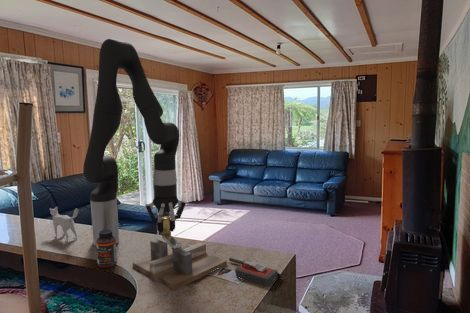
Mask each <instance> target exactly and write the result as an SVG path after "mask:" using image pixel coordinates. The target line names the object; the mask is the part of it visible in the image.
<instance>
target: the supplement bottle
mask: <svg viewBox="0 0 470 313" xmlns="http://www.w3.org/2000/svg"><path fill="white" fill-rule="evenodd" d="M99 236H100V237H99V238H98V239H97V241H96V245H97V246H96V256H97V257H96V261H97V263H96V264H97V266H98V267H99V268H105V269H107V268H111V267H113V266H115V265H116V264H117V244H116V239H115V237H114V236H112V230H102V231H100V232H99Z"/></svg>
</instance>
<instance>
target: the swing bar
mask: <svg viewBox="0 0 470 313" xmlns="http://www.w3.org/2000/svg"><path fill="white" fill-rule="evenodd" d="M161 222H162V233H161V239H162V240H163V241H164V242H165V243H167V245H168V246H170V248H172V249H173V250H176V249H178V248H180V249H181V248H182V244H183V243H181V242H179V241H178V240H177V239H176V238H174V237H173V236H172V232H171V218H170V216H162V219H161Z"/></svg>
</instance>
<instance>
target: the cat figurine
mask: <svg viewBox="0 0 470 313" xmlns="http://www.w3.org/2000/svg"><path fill="white" fill-rule="evenodd" d="M58 209H59V206H58V205H57V206H55V207H54V208H51V207H50V208H49V211H50V212H49V213H50V215H51V216H52V225H53V230H54V233H55V236H54V238H58V227H61V230H62V232H63V233H62V235H63V236H65V237H66V240H64V242H65V243H69V234H68V230H71V232H72V233H73V235H74V237H73V239H74V240H77V237H78V236H77V232H76V228H75V221H74V219H75V218H76V217H77V216H78V214H79V212H80V210H79V209H78V208H77V207H76V208H75V209H74V210H73V214H72V216H69V215H67V214H65V215H64V214H59V210H58Z"/></svg>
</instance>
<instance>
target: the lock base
mask: <svg viewBox="0 0 470 313" xmlns="http://www.w3.org/2000/svg"><path fill="white" fill-rule="evenodd" d="M149 242H150V243H149V244H150V245H149V246H150V255H149V256H147V257H143V258H141V259H138V260H135V261H133V262H132V268H134V269H136V270H137V271H139V272H141V273H143V274H145V275H147V276H148V277H150V278H152V279H154V280H156V281H158V282H159V283H161V284H163V285H165V287H166V286H167V287H168V288H170V289H172V290H174V291H176V290H179V289H180V288H182V287H185V286H187V285H189V284H190V283H192V282H195V281H197V280H199V279H201V278H203V277H205V276H207V275H209V274H211V273H212V272H211V271H213V270H215V269H217V268H220V269H222V268H223V267H225V266H226V267H227V265H228V264H227V262H228V261H227V259H225V258H224V259H223V258H221V257H219V256H216V255H213V254H211V253H209V252H207V244H206V243H204V242H199V243H196V244H193V245H191V246H190V245H188V244H185V243H181V244H182V248H181V249H180V248H178V249H176V250H173V249H172V247H170V248H168V243H167V242H166V241H164V240H163V241H162V240H160V239H158V238H154V239H151V240H149ZM221 267H222V268H221ZM215 271H216V270H215ZM210 272H211V273H210ZM213 272H214V271H213ZM208 273H209V274H208Z"/></svg>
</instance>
